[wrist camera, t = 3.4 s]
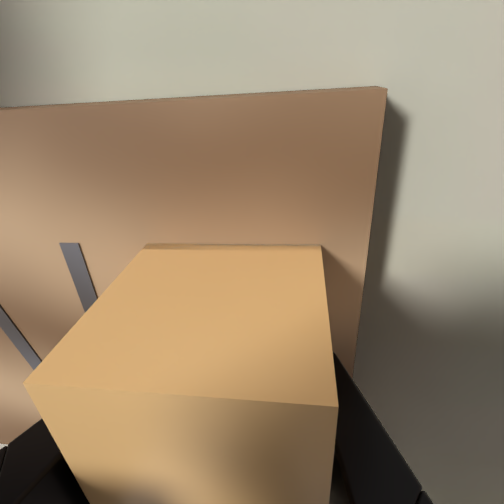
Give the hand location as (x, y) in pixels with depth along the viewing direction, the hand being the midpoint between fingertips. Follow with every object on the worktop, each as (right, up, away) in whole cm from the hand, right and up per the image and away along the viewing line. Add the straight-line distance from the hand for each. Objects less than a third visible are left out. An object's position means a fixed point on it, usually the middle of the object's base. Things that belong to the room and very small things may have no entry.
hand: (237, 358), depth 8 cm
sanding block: (0, 0, 0) cm, 0 cm away
